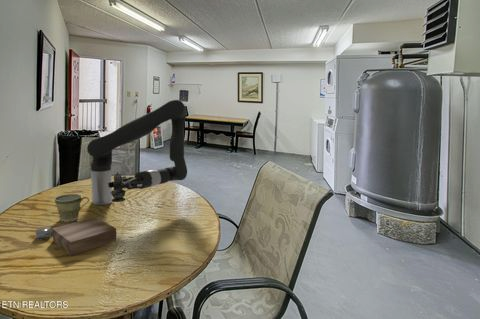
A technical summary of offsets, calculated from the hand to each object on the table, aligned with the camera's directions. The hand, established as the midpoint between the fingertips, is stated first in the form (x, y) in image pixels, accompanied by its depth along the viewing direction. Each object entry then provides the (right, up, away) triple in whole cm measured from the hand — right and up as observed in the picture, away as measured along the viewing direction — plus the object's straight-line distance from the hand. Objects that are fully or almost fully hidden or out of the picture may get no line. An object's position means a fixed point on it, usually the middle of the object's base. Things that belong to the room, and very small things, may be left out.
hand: (111, 186), depth 122 cm
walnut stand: (-6, -20, -10) cm, 23 cm away
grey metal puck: (-22, -19, -8) cm, 30 cm away
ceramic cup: (-21, -15, +10) cm, 28 cm away
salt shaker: (+1, -6, +3) cm, 7 cm away
